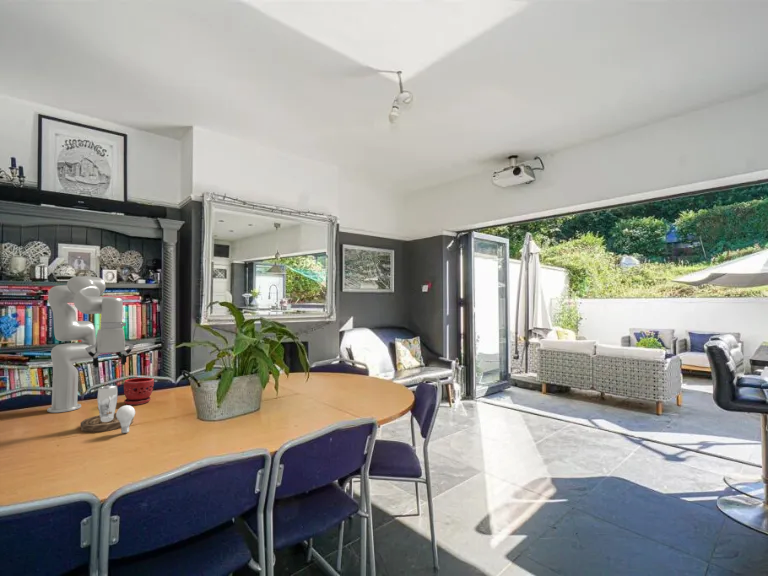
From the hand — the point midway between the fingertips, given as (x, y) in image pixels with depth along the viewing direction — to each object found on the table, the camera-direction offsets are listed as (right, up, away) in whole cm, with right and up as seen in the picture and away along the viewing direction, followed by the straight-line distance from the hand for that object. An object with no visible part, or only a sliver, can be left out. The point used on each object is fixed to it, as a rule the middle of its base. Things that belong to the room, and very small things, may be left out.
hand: (109, 365), depth 165 cm
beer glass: (+1, -24, -2) cm, 24 cm away
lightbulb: (+15, -25, -12) cm, 31 cm away
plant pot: (-9, -26, +33) cm, 43 cm away
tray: (+1, -25, -2) cm, 25 cm away
